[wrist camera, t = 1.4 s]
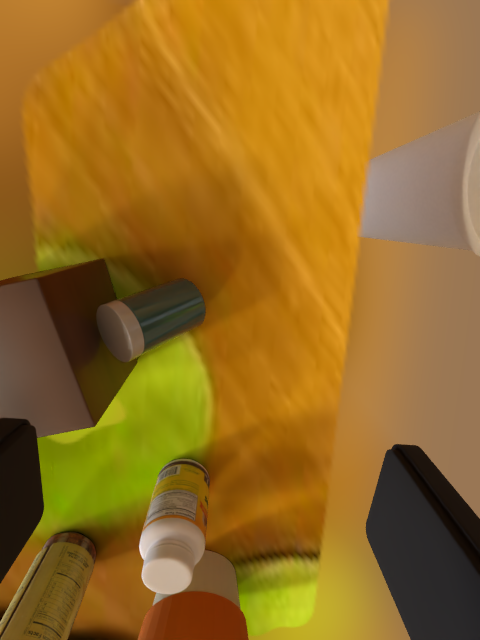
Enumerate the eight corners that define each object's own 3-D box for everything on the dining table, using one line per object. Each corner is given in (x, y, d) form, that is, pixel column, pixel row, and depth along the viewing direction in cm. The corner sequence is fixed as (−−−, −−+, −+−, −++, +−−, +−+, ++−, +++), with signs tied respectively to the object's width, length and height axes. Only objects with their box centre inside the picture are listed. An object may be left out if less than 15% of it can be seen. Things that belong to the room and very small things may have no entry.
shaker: (202, 271, 28) (187, 291, 20) (213, 318, 29) (203, 354, 21) (116, 288, 28) (69, 315, 21) (131, 334, 30) (92, 375, 22)
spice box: (103, 258, 27) (36, 277, 18) (138, 362, 30) (95, 426, 21) (14, 276, 28) (-99, 306, 18) (57, 378, 31) (-22, 449, 21)
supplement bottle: (200, 503, 36) (188, 609, 26) (152, 488, 35) (121, 592, 25) (218, 464, 34) (213, 561, 24) (168, 448, 33) (142, 542, 24)
